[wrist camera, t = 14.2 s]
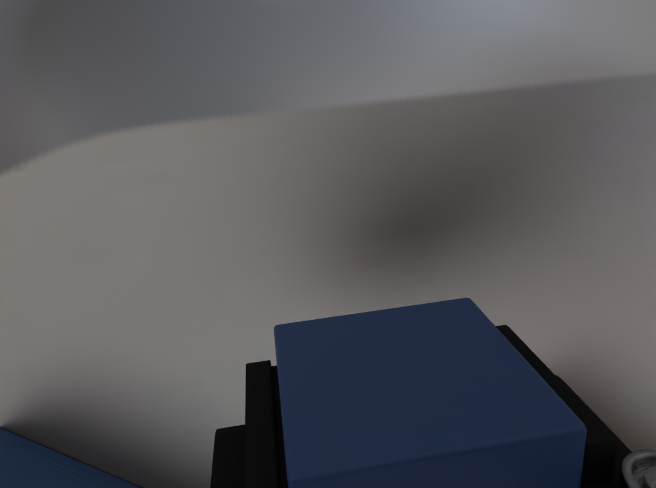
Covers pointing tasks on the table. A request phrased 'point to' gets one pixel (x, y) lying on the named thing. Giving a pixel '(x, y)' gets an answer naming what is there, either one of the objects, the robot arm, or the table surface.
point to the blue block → (419, 404)
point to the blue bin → (47, 467)
